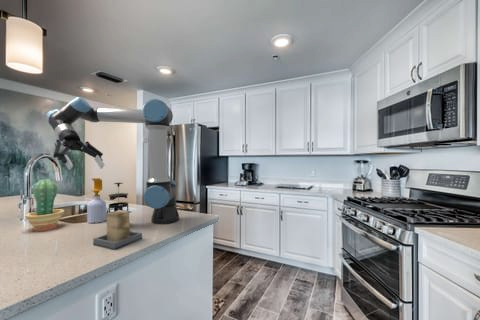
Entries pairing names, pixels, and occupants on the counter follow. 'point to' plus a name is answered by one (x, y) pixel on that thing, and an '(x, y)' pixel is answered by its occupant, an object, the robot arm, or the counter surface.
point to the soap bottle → (96, 205)
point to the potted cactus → (44, 206)
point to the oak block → (117, 225)
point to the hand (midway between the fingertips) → (87, 167)
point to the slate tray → (104, 243)
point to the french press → (118, 205)
